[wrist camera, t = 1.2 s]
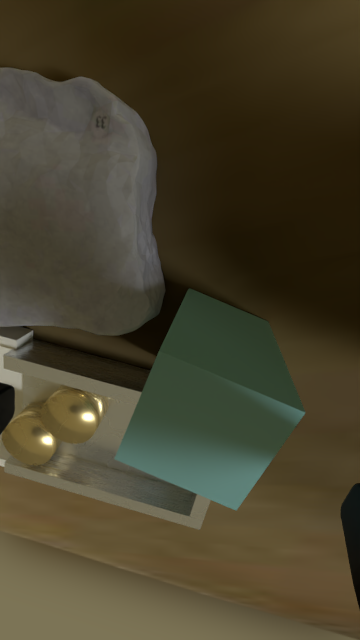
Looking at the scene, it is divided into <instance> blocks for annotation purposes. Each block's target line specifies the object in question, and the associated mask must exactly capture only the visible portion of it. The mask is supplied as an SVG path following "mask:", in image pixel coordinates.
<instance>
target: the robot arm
mask: <svg viewBox="0 0 360 640" xmlns="http://www.w3.org/2000/svg"><path fill="white" fill-rule="evenodd" d="M14 412H15V389H14V387H13V386H12V385H8V384H5V383H1V382H0V435H1V433H2V432H3V431H4V429H5V428H6V426H7V425H8V424H9V422H10V421H11V419H12V418H13V415H14ZM341 519H342V525H343V530H344V536H345V542H346V547H347V553H348V558H349V564H350V569H351V575H352V580H353V584H354V589H355V593H356V597H357V601H358V605H359V609H360V483H357V484H355V485H354V486H353V487H352V489H351V490H350V492H349V494H348V495H347V497H346V498H345V500H344V502H343V503H342V506H341Z"/></svg>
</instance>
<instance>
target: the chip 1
mask: <svg viewBox="0 0 360 640" xmlns="http://www.w3.org/2000/svg"><path fill="white" fill-rule="evenodd" d="M44 403H45V402H33V403H30V404H29V405H27V406H26V407H25V408H24V409H23V410H22V411H21V412H20V413H19V414H18V415H17V416H16V417H15V418H14V419H13V420H12V421H11V422H10V423H9V424H8V425H7V426H6V428H5V429H4V431H3V432H2V441H3V444H4V446H5V448H6V450H7V451H8V452H9V453H10V454H11V455H12V456H13V457H14V458H16V459H17V460H19V461H21V462H23V463H26V464H29V465H41V464H44V463H46V462H47V461H49V460H50V458H51V457H52V456H53V454H54V453H55V451H56V450H57V449H58V447H59V446H60V444H61V443H62V441H61V440H59V439H57V438H55V437H54V436H53V435H52V434H50V433H49V432H48V430H47V429H46V428H45V426H44V424H43V422H42V419H41V409H42V406H43V404H44Z"/></svg>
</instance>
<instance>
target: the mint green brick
mask: <svg viewBox="0 0 360 640" xmlns="http://www.w3.org/2000/svg"><path fill="white" fill-rule="evenodd" d="M304 414H305V410H304V408H303V405H302V403H301V400H300V398H299V396H298V393H297V391H296V388H295V386H294V383H293V381H292V378H291V376H290V374H289V371H288V369H287V366H286V364H285V361H284V359H283V356H282V354H281V352H280V349H279V347H278V344H277V342H276V339H275V337H274V334H273V332H272V330H271V327H270V325H269V322H268V321H266V320H263V319H261V318H259V317H256V316H254V315H252V314H249V313H247V312H245V311H242V310H240V309H237V308H235V307H233V306H230V305H228V304H226V303H223V302H221V301H219V300H216V299H214V298H212V297H209V296H207V295H205V294H202V293H200V292H197V291H195V290H193V289H190V288H189V289H188V291H187V293H186V295H185V297H184V299H183V301H182V303H181V305H180V308H179V310H178V312H177V314H176V316H175V318H174V320H173V322H172V325H171V327H170V329H169V331H168V333H167V335H166V337H165V339H164V341H163V344H162V346H161V348H160V350H159V352H158V355H157V357H156V359H155V362H154V364H153V367H152V369H151V372H150V374H149V376H148V379H147V381H146V384H145V386H144V388H143V391H142V393H141V396H140V398H139V401H138V403H137V405H136V408H135V410H134V413H133V415H132V417H131V420H130V422H129V425H128V427H127V430H126V432H125V434H124V437H123V439H122V442H121V444H120V446H119V449H118V451H117V454H116V456H115V458H114V459H115V460H118V461H120V462H122V463H125V464H127V465H129V466H132V467H134V468H137V469H139V470H141V471H144V472H146V473H148V474H151V475H153V476H155V477H158V478H160V479H163V480H165V481H167V482H170V483H172V484H174V485H177V486H179V487H182V488H184V489H186V490H189V491H191V492H193V493H196V494H198V495H201V496H203V497H205V498H208V499H210V500H212V501H215V502H217V503H219V504H222V505H224V506H227V507H229V508H231V509H234V510H237V509H238V507H239V506H240V505H241V503H242V502H243V500H244V499H245V498H246V496H247V495H248V493H249V492H250V491H251V489H252V488H253V486H254V485H255V483H256V482H257V481H258V479H259V478H260V476H261V475H262V474H263V472H264V471H265V469H266V468H267V466H268V465H269V464H270V462H271V461H272V459H273V458H274V457H275V455H276V454H277V452H278V451H279V449H280V448H281V447H282V445H283V444H284V442H285V441H286V440H287V438H288V437H289V435H290V434H291V433H292V431H293V430H294V428H295V427H296V425H297V424H298V423H299V421H300V420H301V418H302V417H303V416H304Z"/></svg>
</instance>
